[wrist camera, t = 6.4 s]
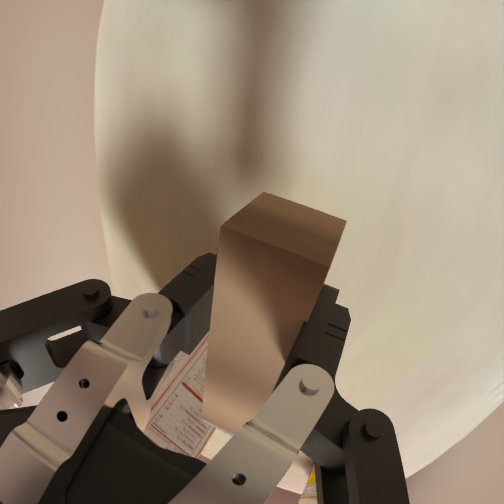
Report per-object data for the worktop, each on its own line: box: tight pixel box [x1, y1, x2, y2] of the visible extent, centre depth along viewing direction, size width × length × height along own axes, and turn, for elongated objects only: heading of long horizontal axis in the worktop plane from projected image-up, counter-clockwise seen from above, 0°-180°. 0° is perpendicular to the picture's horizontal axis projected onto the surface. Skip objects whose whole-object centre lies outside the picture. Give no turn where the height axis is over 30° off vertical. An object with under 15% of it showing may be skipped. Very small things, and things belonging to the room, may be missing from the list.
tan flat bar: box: [202, 192, 347, 436], centre depth 14 cm, size 18×5×3 cm, turn 169°
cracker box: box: [143, 332, 216, 458], centre depth 28 cm, size 14×6×21 cm, turn 132°
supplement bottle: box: [298, 467, 317, 504], centre depth 39 cm, size 7×7×13 cm
